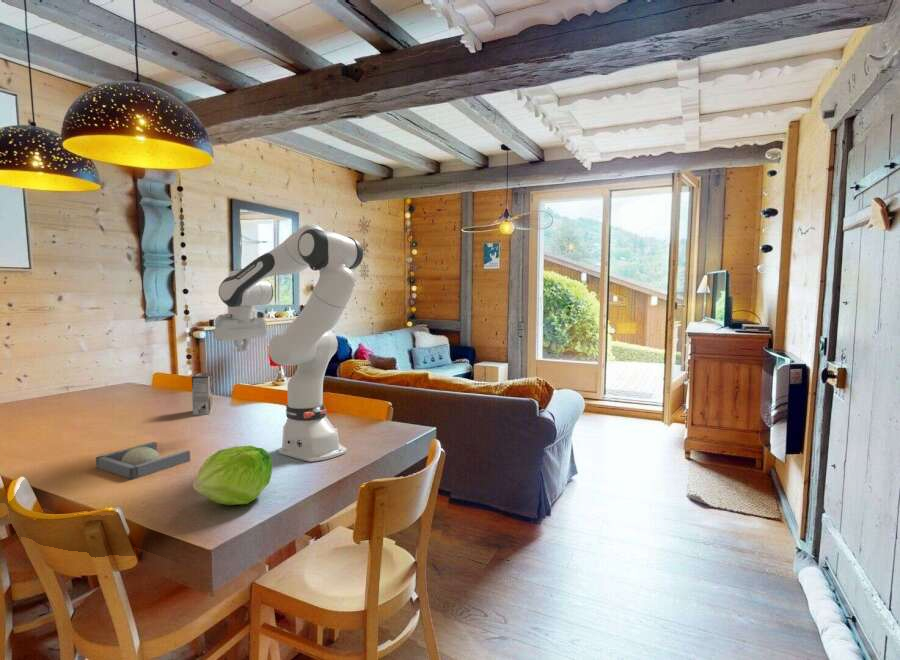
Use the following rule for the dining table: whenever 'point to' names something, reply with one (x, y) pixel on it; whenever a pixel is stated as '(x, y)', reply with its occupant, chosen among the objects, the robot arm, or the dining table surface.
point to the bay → (130, 471)
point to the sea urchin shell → (140, 456)
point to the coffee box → (202, 393)
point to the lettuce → (234, 475)
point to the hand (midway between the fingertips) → (241, 351)
